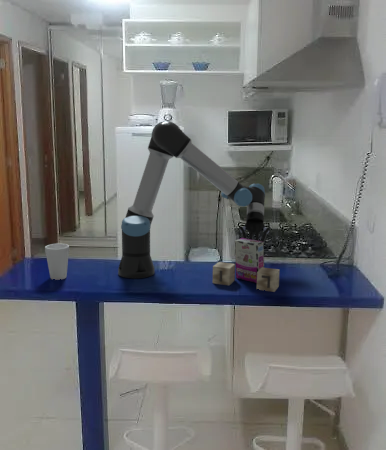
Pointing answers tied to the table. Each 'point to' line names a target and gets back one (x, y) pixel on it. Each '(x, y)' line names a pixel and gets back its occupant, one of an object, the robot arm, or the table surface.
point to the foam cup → (57, 260)
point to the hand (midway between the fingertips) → (252, 262)
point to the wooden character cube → (223, 273)
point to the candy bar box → (248, 258)
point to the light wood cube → (268, 279)
